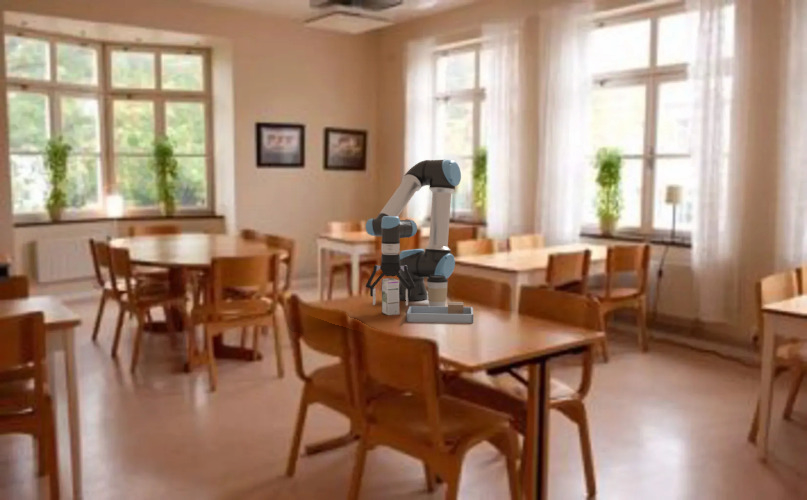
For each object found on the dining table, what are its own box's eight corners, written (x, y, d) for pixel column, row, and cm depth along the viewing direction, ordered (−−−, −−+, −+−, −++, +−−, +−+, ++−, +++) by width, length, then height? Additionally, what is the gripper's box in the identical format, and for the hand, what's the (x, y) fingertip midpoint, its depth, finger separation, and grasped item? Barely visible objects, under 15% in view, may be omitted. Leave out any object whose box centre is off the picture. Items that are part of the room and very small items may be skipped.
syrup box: (399, 314, 280) (399, 279, 278) (386, 315, 277) (386, 280, 276) (394, 312, 285) (394, 277, 284) (381, 313, 283) (381, 278, 281)
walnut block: (448, 316, 271) (448, 301, 271) (463, 317, 271) (463, 302, 270) (447, 319, 265) (448, 304, 265) (463, 320, 265) (463, 304, 264)
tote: (409, 315, 278) (409, 305, 277) (472, 316, 275) (472, 307, 275) (406, 323, 262) (406, 313, 261) (473, 325, 260) (473, 314, 259)
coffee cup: (448, 308, 294) (448, 274, 292) (447, 312, 285) (447, 276, 283) (427, 307, 295) (427, 273, 293) (425, 311, 286) (426, 276, 284)
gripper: (359, 254, 276) (359, 305, 278) (420, 255, 274) (420, 306, 276) (361, 252, 283) (361, 302, 286) (421, 253, 281) (421, 303, 284)
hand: (390, 304), depth 281 cm, fingers open, 13 cm apart
